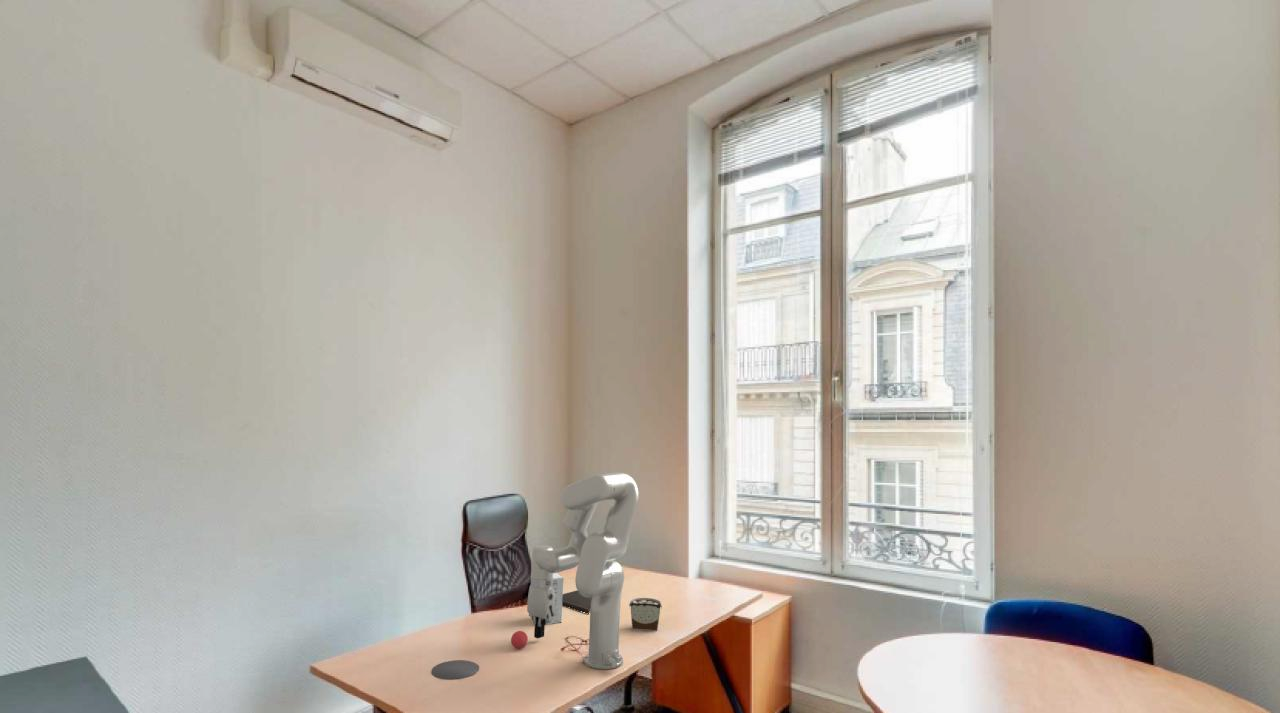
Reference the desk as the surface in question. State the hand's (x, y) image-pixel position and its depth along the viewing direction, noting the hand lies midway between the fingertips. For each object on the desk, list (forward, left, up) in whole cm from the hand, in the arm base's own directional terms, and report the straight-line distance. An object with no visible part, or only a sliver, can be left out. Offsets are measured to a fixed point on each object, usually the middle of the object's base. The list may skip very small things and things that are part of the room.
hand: (539, 636), depth 222 cm
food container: (-4, -41, -2) cm, 41 cm away
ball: (-3, +8, +1) cm, 9 cm away
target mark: (-11, +32, -2) cm, 34 cm away
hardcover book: (+32, -33, -2) cm, 46 cm away
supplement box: (+19, -11, -2) cm, 22 cm away
